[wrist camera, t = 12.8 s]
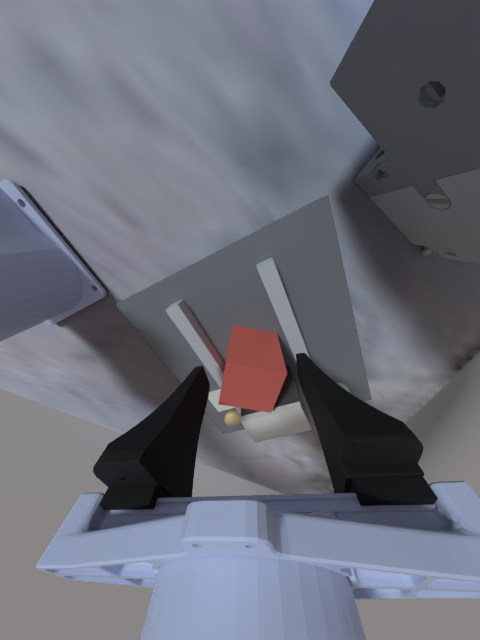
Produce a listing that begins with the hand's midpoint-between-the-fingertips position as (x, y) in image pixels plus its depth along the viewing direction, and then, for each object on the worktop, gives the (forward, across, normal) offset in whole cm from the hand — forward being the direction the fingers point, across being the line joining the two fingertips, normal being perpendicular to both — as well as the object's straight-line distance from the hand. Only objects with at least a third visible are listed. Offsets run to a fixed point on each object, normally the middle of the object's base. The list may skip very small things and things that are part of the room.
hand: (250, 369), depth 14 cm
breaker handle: (+3, -1, +5) cm, 6 cm away
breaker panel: (+5, 0, +2) cm, 5 cm away
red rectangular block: (+3, 0, 0) cm, 3 cm away
